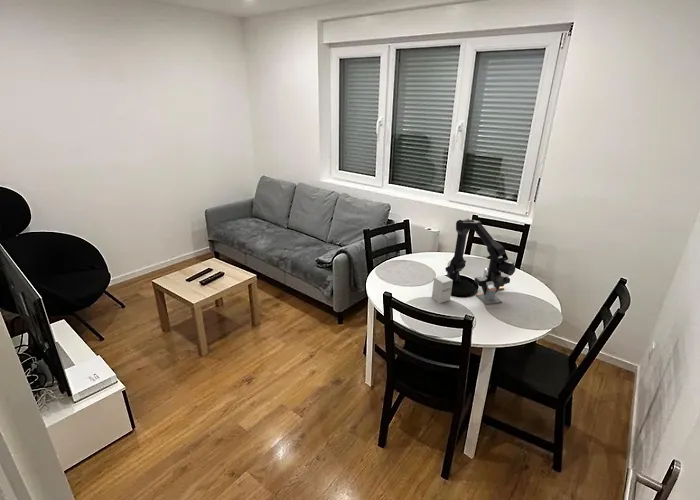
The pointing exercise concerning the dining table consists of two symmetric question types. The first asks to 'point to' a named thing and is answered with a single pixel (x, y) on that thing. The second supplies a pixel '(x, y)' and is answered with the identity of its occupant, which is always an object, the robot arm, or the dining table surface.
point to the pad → (485, 301)
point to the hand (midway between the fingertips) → (489, 293)
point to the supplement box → (442, 288)
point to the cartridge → (490, 292)
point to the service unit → (490, 282)
